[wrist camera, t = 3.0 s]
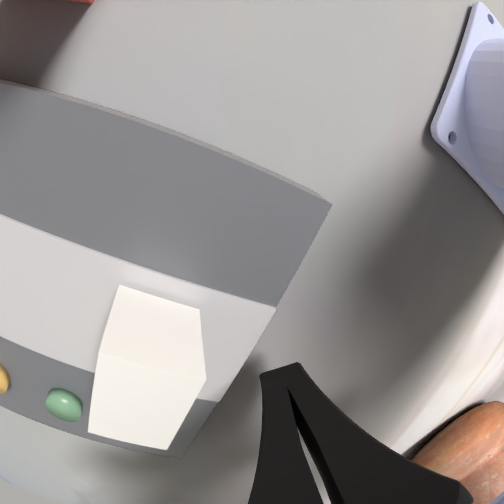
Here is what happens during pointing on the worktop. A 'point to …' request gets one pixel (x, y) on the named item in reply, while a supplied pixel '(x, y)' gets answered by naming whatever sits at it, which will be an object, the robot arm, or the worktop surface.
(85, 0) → the block
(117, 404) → the block
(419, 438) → the worktop surface
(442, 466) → the ceramic jug
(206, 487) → the worktop surface
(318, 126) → the worktop surface
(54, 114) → the breaker panel
